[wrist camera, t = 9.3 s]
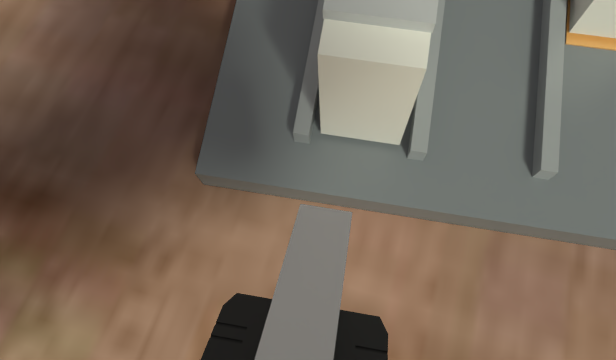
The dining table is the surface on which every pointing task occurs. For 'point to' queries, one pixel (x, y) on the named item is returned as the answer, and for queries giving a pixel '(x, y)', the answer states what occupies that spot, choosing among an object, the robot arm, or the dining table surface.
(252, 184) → the switch bank
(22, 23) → the dining table surface
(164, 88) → the dining table surface
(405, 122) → the tab left
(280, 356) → the robot arm
